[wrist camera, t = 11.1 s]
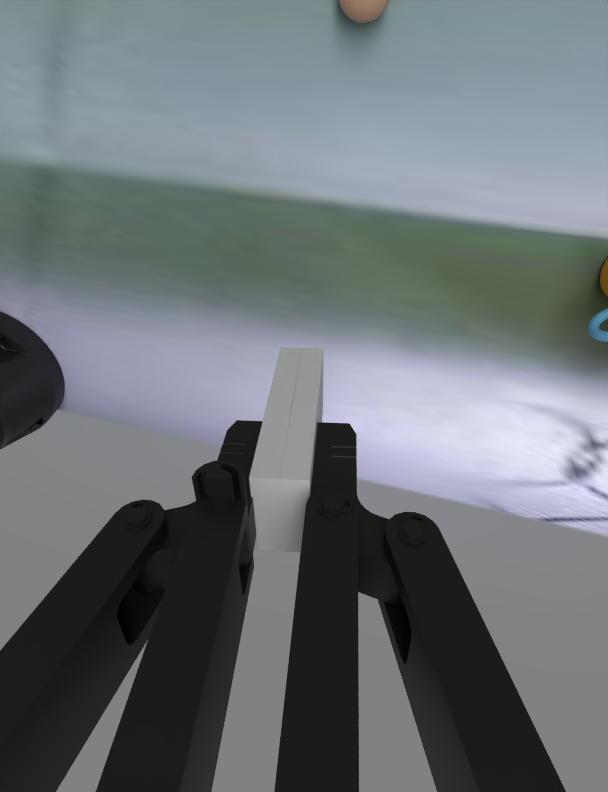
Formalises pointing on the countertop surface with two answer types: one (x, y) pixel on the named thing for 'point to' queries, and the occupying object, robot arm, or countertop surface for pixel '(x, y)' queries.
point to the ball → (363, 9)
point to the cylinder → (593, 327)
